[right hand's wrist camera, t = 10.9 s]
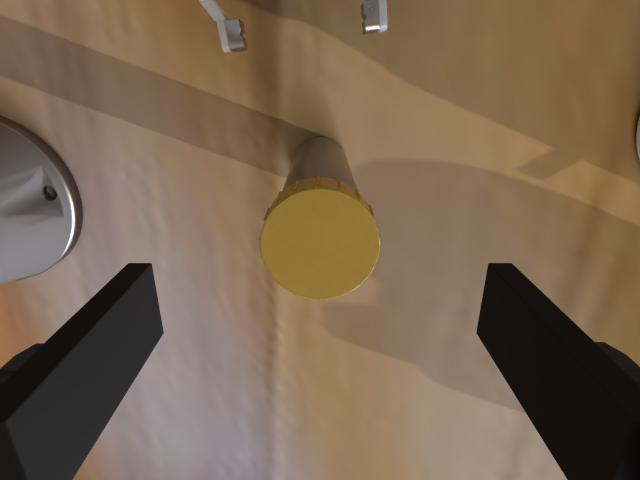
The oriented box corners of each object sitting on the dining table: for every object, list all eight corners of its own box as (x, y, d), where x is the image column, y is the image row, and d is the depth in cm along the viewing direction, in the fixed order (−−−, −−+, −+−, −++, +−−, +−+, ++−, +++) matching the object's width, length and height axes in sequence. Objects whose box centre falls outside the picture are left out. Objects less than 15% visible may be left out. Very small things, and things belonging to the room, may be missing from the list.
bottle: (350, 183, 36) (379, 279, 19) (300, 193, 37) (282, 297, 19) (340, 130, 35) (362, 182, 17) (288, 142, 35) (255, 205, 17)
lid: (382, 268, 21) (390, 289, 18) (280, 288, 21) (275, 310, 19) (365, 164, 19) (370, 175, 16) (251, 189, 19) (243, 202, 17)
